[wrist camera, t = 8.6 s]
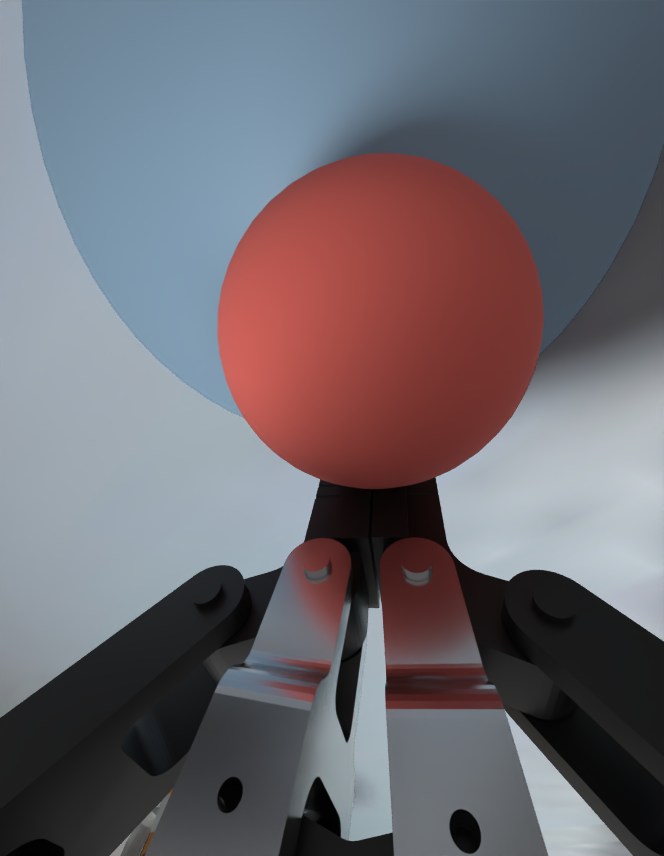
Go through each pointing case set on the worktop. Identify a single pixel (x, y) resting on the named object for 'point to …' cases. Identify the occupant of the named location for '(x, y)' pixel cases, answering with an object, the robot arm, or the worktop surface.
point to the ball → (380, 321)
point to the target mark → (333, 132)
